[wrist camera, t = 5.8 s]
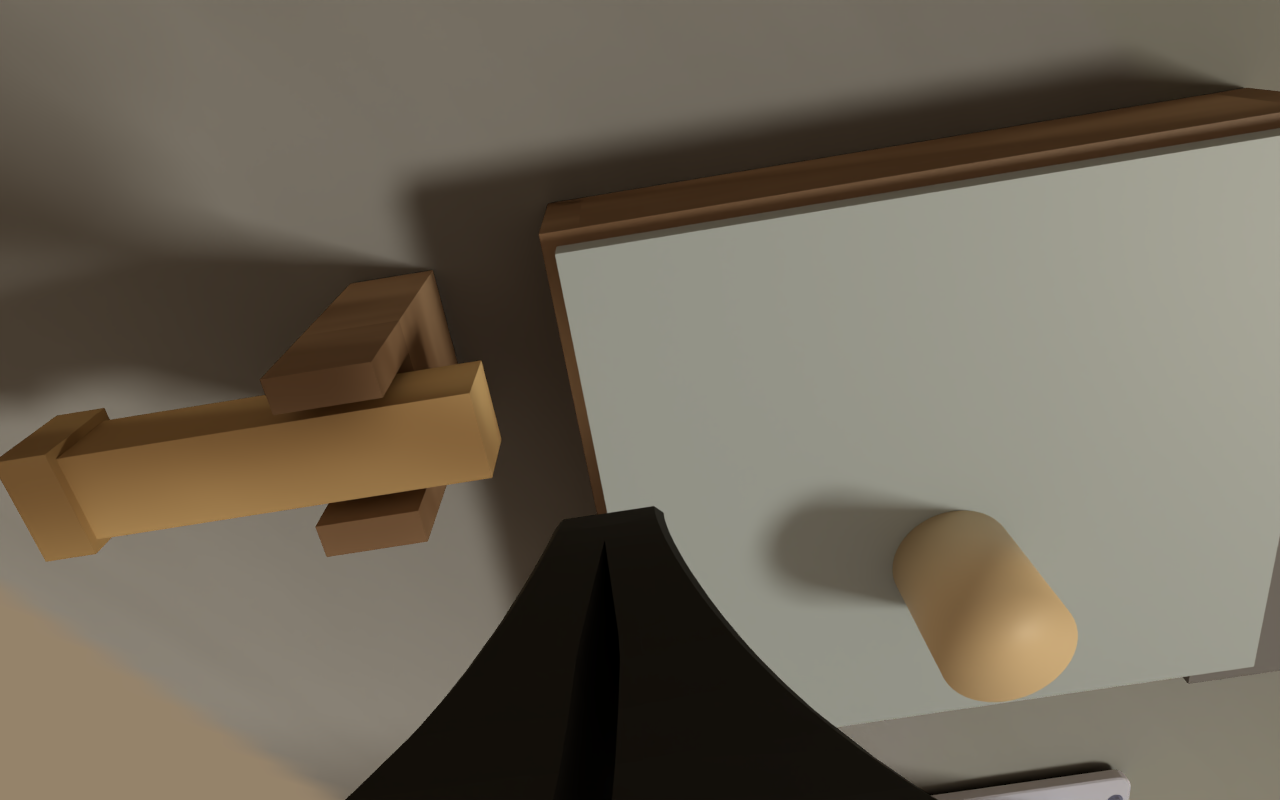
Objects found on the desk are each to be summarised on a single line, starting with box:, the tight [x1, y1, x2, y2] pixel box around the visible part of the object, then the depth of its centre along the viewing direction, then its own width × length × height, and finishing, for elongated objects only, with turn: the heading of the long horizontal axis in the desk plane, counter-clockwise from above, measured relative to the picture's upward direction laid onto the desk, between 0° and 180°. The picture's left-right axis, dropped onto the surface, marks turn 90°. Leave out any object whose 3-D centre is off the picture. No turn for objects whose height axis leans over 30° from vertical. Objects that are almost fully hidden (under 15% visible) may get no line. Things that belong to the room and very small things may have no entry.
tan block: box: [0, 360, 501, 562], centre depth 17 cm, size 2×9×2 cm, turn 99°
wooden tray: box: [260, 88, 1280, 557], centre depth 20 cm, size 14×21×6 cm, turn 99°
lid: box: [555, 128, 1280, 727], centre depth 18 cm, size 13×15×4 cm
